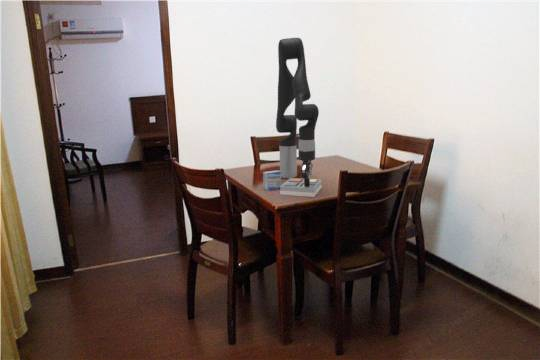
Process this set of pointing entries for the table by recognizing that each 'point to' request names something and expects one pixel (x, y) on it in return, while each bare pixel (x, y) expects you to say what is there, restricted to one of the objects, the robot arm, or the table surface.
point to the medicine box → (272, 180)
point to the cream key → (313, 180)
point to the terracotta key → (296, 180)
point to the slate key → (291, 184)
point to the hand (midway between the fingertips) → (307, 186)
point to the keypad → (301, 189)
